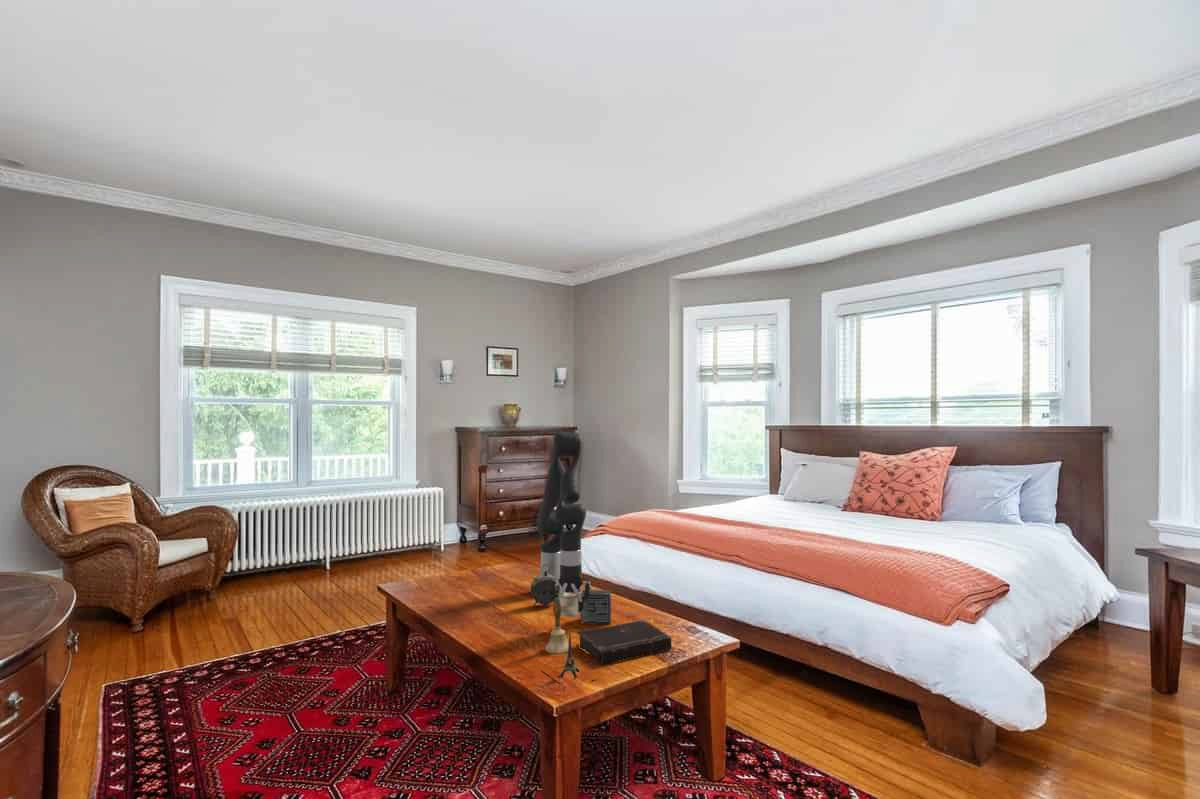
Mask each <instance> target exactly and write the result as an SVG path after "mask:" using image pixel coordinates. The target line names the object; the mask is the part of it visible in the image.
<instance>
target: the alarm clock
mask: <svg viewBox="0 0 1200 799" xmlns="http://www.w3.org/2000/svg"><path fill="white" fill-rule="evenodd" d="M544 565H548V564H544ZM544 565H543V566H544ZM543 566H542V568H543ZM548 566H549V565H548ZM542 568H541V567H540V570H541V569H542ZM549 570H550V566H549ZM549 570H548V571H549ZM548 571H545V572H544V573H545V574H541V575H540V574H539V575H537V576H536V577H535V578H534V579H533V580H532V582H531V585H530V594H531V596H532V598H533V599H534V600H535V603H534V604H533V605H532V606H533V607H536V605H537V604H540V605H543V606H545V608H546V609H547V608H548V605H550V604H552V603H554V601H555V598H553V594H552V587H551V581H552V580H553V579H555V577H553V576H552V575H550V574H547V572H548ZM542 572H543V570H542ZM557 589H558V594H559V593H560V585H559V583H558V585H557Z"/></svg>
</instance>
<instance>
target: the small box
mask: <svg viewBox="0 0 1200 799" xmlns="http://www.w3.org/2000/svg"><path fill="white" fill-rule="evenodd" d="M581 591H582V594H583V596H584V593H585V589H581ZM611 621H612V593H611V589H590V593H589V598H588V599H587V600H584V608H583V610H582V612H581V613H580V623H581V622H583V623H602V624H601V625H610V624H611Z"/></svg>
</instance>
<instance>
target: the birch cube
mask: <svg viewBox="0 0 1200 799" xmlns="http://www.w3.org/2000/svg"><path fill="white" fill-rule="evenodd" d="M560 603H561V615H560V617H567V618H570V617H571V618H578V617H579V616H580V615H581V612H582V611H581V612H579V600H578V598H577V596H576V594H575V593H572V592H565V594H564V595H563V596H562V597H561V598H560Z"/></svg>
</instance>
